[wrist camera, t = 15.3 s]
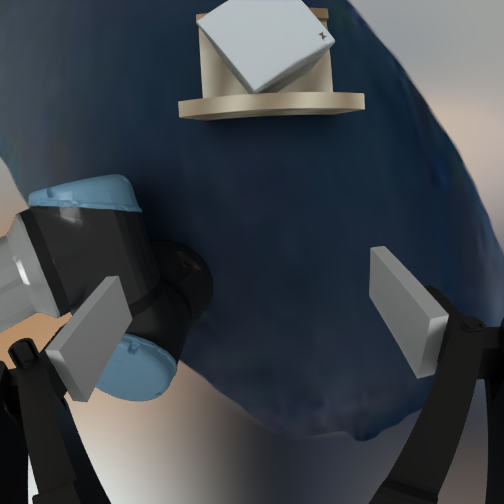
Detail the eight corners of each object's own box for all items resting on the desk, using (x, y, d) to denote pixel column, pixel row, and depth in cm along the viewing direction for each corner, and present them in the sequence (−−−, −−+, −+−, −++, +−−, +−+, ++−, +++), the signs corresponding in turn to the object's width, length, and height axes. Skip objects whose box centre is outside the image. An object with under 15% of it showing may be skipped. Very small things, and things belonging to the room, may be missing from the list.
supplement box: (273, 21, 36) (278, -31, 21) (313, 70, 39) (340, 39, 23) (217, 57, 39) (192, 20, 23) (256, 106, 41) (253, 93, 25)
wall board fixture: (205, 120, 43) (179, 117, 29) (199, 19, 37) (173, -21, 23) (333, 114, 42) (364, 109, 28) (324, 13, 36) (348, -29, 22)
